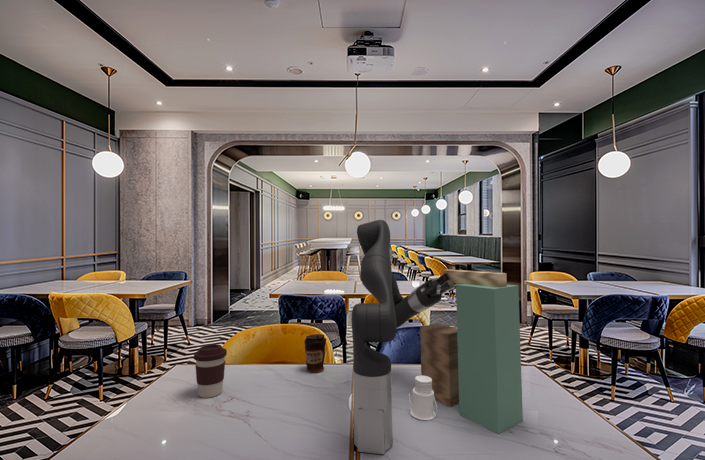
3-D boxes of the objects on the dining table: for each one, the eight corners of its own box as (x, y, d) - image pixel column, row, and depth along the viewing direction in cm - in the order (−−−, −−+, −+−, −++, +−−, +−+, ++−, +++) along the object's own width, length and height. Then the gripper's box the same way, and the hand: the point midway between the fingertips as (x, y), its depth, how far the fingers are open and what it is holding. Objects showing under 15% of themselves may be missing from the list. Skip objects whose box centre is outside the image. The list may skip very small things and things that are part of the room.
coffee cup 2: (325, 374, 128) (324, 339, 128) (302, 374, 128) (302, 339, 128) (327, 366, 137) (327, 332, 137) (306, 366, 137) (306, 333, 137)
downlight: (405, 416, 96) (405, 380, 96) (412, 405, 102) (413, 371, 102) (433, 424, 92) (434, 386, 93) (440, 412, 99) (440, 377, 99)
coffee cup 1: (204, 403, 106) (204, 353, 107) (187, 395, 112) (187, 348, 113) (232, 391, 114) (232, 345, 115) (215, 384, 120) (215, 341, 121)
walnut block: (467, 399, 106) (465, 330, 107) (450, 406, 101) (448, 334, 102) (438, 387, 115) (437, 323, 116) (421, 393, 111) (420, 326, 112)
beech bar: (506, 286, 93) (506, 273, 93) (499, 287, 91) (498, 274, 91) (450, 280, 109) (450, 269, 109) (443, 281, 107) (442, 270, 107)
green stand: (522, 420, 93) (518, 285, 94) (498, 433, 87) (494, 289, 88) (483, 403, 103) (480, 281, 104) (459, 414, 97) (455, 284, 98)
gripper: (443, 305, 118) (478, 284, 107) (412, 310, 110) (446, 288, 99) (434, 285, 121) (467, 263, 110) (404, 288, 113) (436, 265, 102)
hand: (457, 275), depth 105 cm, fingers open, 8 cm apart
